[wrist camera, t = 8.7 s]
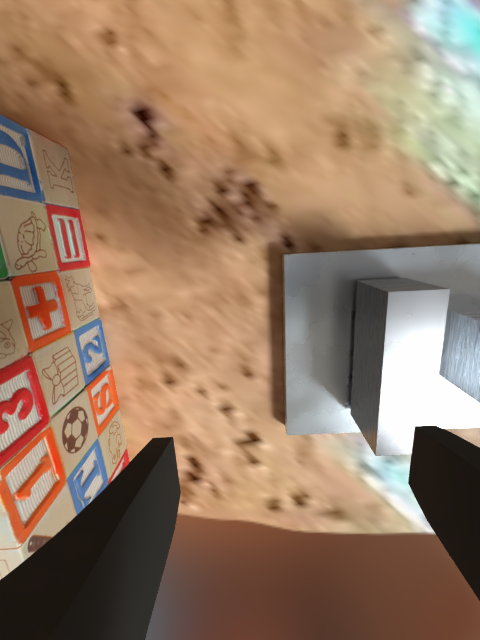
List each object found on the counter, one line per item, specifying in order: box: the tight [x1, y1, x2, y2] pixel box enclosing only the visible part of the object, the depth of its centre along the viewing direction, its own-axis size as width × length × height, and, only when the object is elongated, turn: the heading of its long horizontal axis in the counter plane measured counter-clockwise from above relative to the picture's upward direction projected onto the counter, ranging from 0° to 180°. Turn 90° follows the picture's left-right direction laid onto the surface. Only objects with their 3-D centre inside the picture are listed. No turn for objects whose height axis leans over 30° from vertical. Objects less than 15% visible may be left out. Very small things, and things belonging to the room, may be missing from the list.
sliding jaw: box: [350, 278, 450, 456], centre depth 15 cm, size 2×8×4 cm, turn 3°
